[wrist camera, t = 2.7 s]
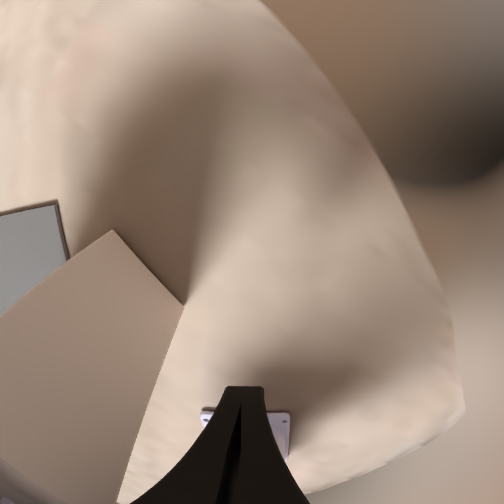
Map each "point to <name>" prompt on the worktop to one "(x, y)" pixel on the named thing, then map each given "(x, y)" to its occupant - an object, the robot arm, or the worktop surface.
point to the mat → (29, 251)
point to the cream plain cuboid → (80, 375)
